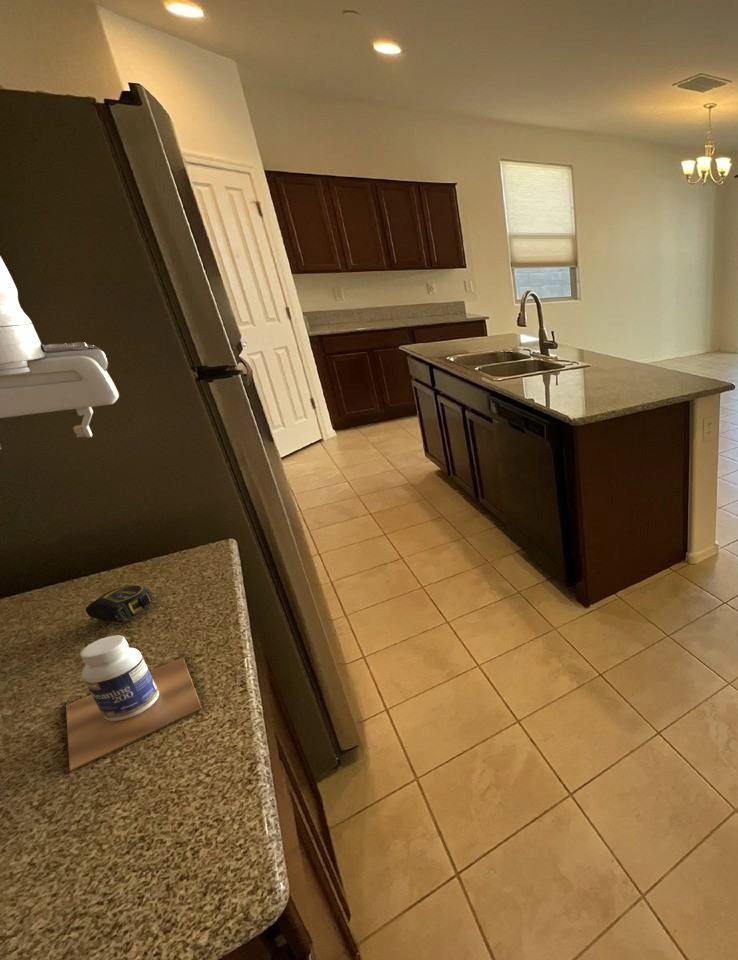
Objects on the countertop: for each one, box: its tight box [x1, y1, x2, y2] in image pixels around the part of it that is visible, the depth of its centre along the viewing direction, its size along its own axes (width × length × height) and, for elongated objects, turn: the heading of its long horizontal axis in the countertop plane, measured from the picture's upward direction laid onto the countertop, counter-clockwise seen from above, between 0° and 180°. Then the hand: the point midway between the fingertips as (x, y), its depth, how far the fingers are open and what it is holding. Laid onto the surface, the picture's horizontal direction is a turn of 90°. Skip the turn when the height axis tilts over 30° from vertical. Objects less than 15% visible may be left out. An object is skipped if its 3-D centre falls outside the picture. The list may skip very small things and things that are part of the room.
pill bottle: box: [79, 635, 159, 721], centre depth 65 cm, size 5×5×10 cm
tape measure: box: [85, 584, 154, 623], centre depth 85 cm, size 7×7×4 cm
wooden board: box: [65, 657, 203, 772], centre depth 67 cm, size 14×12×1 cm
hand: (40, 443), depth 77 cm, fingers open, 8 cm apart
